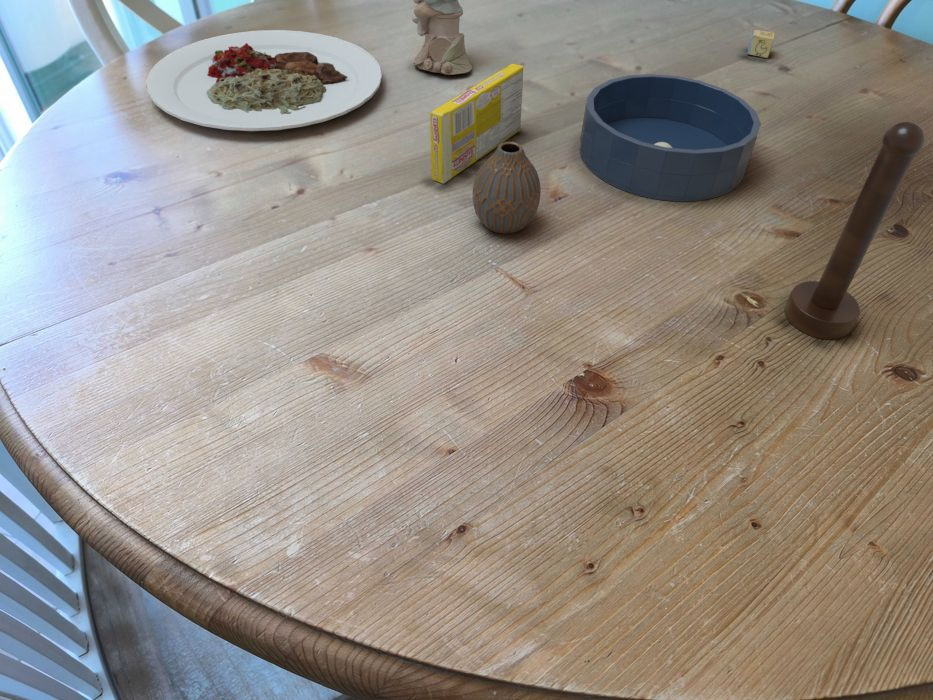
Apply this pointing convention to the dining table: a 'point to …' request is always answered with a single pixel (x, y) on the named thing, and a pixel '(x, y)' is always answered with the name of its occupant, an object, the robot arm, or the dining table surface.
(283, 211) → the dining table surface
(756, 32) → the alphabet block
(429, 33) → the figurine
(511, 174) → the vase
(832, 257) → the wooden joystick
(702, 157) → the bowl
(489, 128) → the candy box
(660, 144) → the dough ball
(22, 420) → the dining table surface
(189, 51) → the plated food
